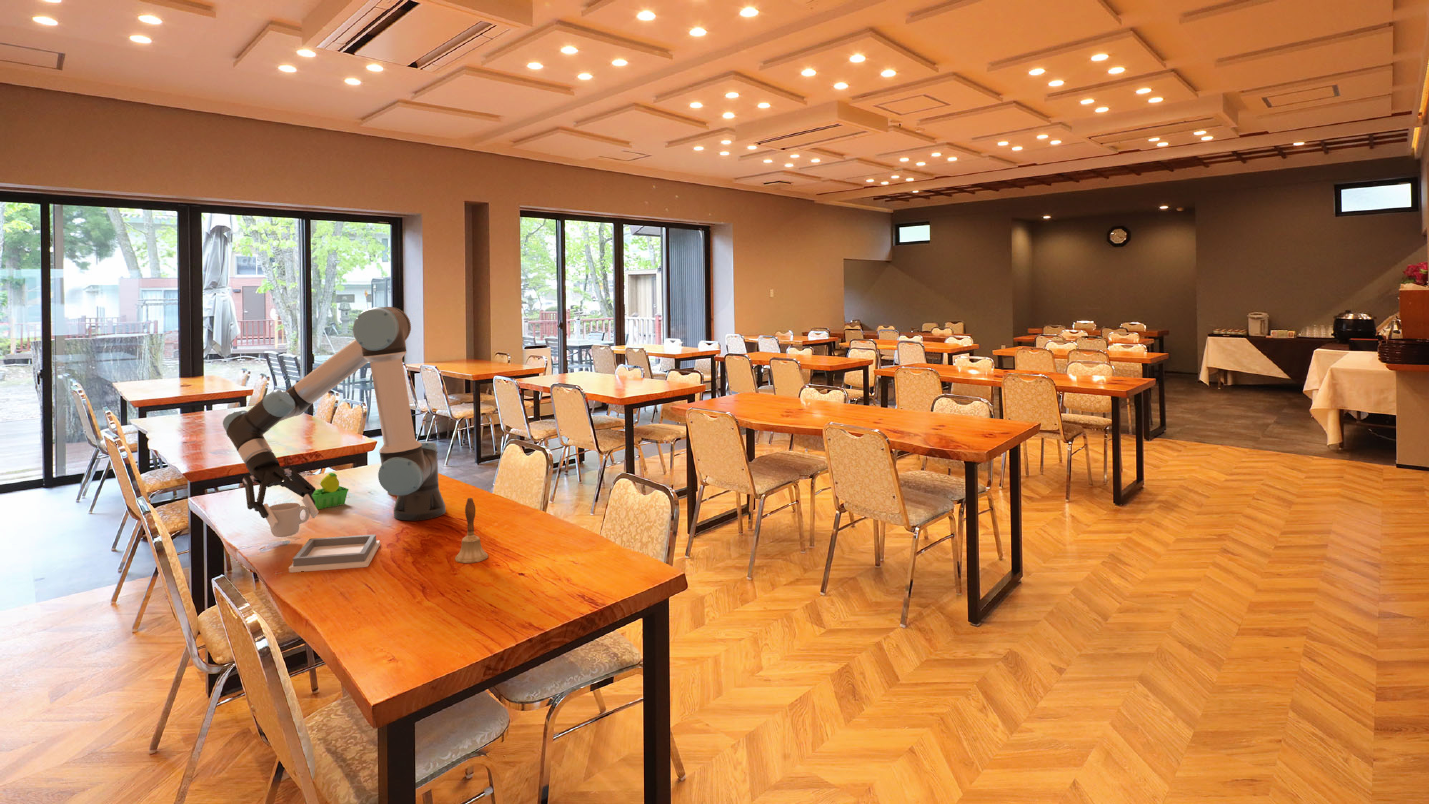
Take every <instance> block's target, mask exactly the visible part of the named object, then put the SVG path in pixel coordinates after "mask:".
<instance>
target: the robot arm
mask: <svg viewBox="0 0 1429 804" xmlns="http://www.w3.org/2000/svg"><path fill="white" fill-rule="evenodd" d="M411 324H412V323H411V321H410V318H409V316H408V315H407V314H406V313H405V312H404V311H403V310H401V309H400V308H397V307H394V306H375V307H370V308H367V309H365V310H363V311H362V312H360V313H359V314H358V315H357V316H356V318H355V319H354V323H353V326H352V334H353V336H354V340H352V341H351V342H349V343H348V344H346V345H345V346H344V347H342V348H341V349H340V350H338V352H336V353H335V354H333V355H332V356H330V358H328V359H327V360H325V361H324V362H323V363H321V364H320V365H319V366H317V367H316V368H314V369H313V370H312V371H311V372H309V373H308V374H307V375H305V376H304V377H303V378H302V379H300V380H299V381H297V382H296V383H294V385H292V386H291V387H289V388H288V389H287V390H286V391H285V390H281V389H274V390H272V391H271V392H270V393H268V394H266V395H265V396H264V397H263V398H262V399H261V400H259V402H257V403H256V404H255V405H254V406H253V407H251V408H250V409H249V410H248V411H247V410H244V409H241V410H240V409H239V410H235V411H233V412H232V413H229V414H227V415H226V416H225V417H224V418H223V420H222V426H223V429H224V432H226V433H225V434H226V436H227V438H228V439H229V440H230V441H231V442H232V444H233V446H234V448H235V450H236V451H237V453H238V455H239V457H240V458H241V460H242V462H243V464H245V467H246V469H247V471H248V473H249V474H250V475H249V474H245V475H244V477H243V478H242V480H241V483H242V484H243V486H244V490H245V496H246V507H247V510H253V509H254V511H255V512H258V513H259V514H260V517H261V518H263V519H265V520H266V521H267V523H268V524H269V527H270V526H271V528H272V529H273V528H275V527H276V525H277V523H278V521H277V519H276V518H275V516H274V514H273V513H272V511H271V509H270V506H269V504H268V503H264V502H265V501H264V500H265V496H266V491H267V488H272V487H275V486H276V487H277V486H280V487H282V488H286V489H288V490H289V491H291V492H293V493H294V494H297V495H298V496H300V497H302V499H301V501H302V503H303V504H304V506H305V507H307V508H308V509H309V511H310V516H311V518H312V519H315V518H316V517H317V516H318V514H319V509H317V508H316V506H315V500H314V499H313V497H312V495H313V493H314V491H315V490H317V489H316V487H315V486H313V484H311V483H310V482H309V481H308V480H307V479H306V478H304V477H303V476H302V475H301V474H300V473H299V472H298V471H297V470H296V468H295V467H294V466H293V465H290V466H289V468H283V467H281V465H280V461H279V460H278V458H277V457H276V454H275V453H274V452H273V450H272V448H271V446H270V444H269V443H268V441H267V440H266V439H265V436H264V434H265V433H267V432H268V431H269V430H271V428H273V427H275V426H276V425H277V424H278V423H279V422H282V421H285V420H287V419H289V418H290V419H291V418H294V417H297V416H300V415H302V414H304V413H305V412H306V411H307V410H308V409H309V407H310V406H312V405H313V404H314V403H315V402H317V401H318V400H320V399H321V398H323V397H324V396H325V395H326V394H327V393H329V392H331V390H333V389H334V388H335V387H337V386H338V385H339V384H341V383H342V382H343V381H345V380H346V379H347V378H349V377H350V376H351V375H353V374H354V373H356V372H357V371H358V370H359V369H361V368H363V367H364V366H366V364H368V363H369V365H370V371H371V372H370V373H371V378H372V383H373V387H374V393H375V400H376V406H377V413H378V417H379V418H378V419H379V422H380V423H379V424H380V429H381V435H382V441H383V445H382V446H381V448H379V451H378V452H379V458H380V462H381V463H380V464H381V465H380V466H379V469H378V472H377V477H378V482H379V484H380V486H381V487H382V488H383V490H385V491H386V492H387V493H388V492H389V493H391V494H394V495H393V496H397V497H396V501H395V504H394V507H393V517H394V519H396V520H400V521H401V520H402V521H424V520H431V519H435V518H438V517H441V516H443V515H444V514H445V513H446V512H447V511H446V504H445V501H444V499H443V496H442V493H441V491H440V487H439V461H438V447H437V443H436V442H434V441H420V440H419V441H418V440H417V439H416V435H415V431H414V430H415V429H414V423H413V418H412V412H411V406H410V405H411V404H410V398H409V394H408V387H407V381H406V374H405V369H404V363H403V357H404V356H405V355H406V354H407V346H406V340H407V339H408V338H409V336H410V334H411V330H412V325H411ZM254 482H256V483H257V484H259V487H258V493H257V499H256V496H255V489H254ZM271 528H270V529H271Z"/></svg>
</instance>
